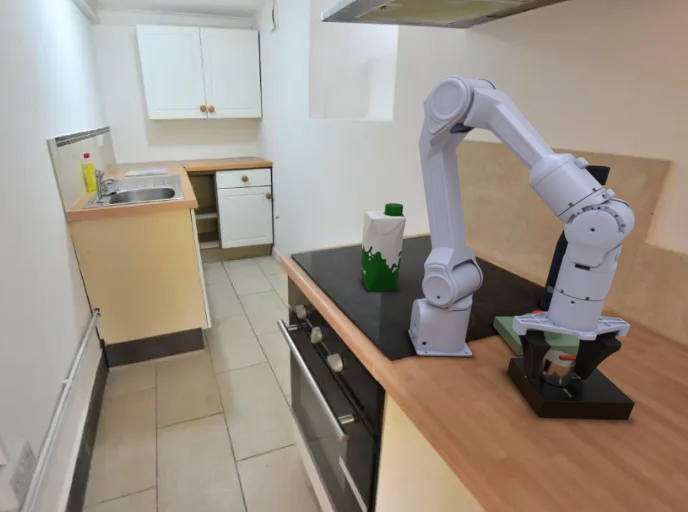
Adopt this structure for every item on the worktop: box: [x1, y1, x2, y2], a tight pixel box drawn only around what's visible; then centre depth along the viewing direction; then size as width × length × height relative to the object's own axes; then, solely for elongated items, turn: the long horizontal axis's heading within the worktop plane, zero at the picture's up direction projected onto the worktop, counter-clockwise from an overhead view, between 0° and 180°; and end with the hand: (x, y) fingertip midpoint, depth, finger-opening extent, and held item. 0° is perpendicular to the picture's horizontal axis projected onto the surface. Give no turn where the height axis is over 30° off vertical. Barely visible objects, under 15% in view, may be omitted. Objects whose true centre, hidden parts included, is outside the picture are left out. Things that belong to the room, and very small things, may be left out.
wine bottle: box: [539, 164, 611, 312], centre depth 77 cm, size 6×6×30 cm
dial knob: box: [538, 350, 576, 386], centre depth 55 cm, size 4×4×4 cm
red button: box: [531, 310, 546, 314], centre depth 69 cm, size 4×4×2 cm
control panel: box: [506, 357, 636, 421], centre depth 56 cm, size 12×10×3 cm
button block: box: [492, 312, 580, 357], centre depth 70 cm, size 12×10×4 cm
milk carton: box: [360, 202, 407, 292], centre depth 90 cm, size 9×9×20 cm
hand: (554, 375), depth 56 cm, fingers open, 7 cm apart
